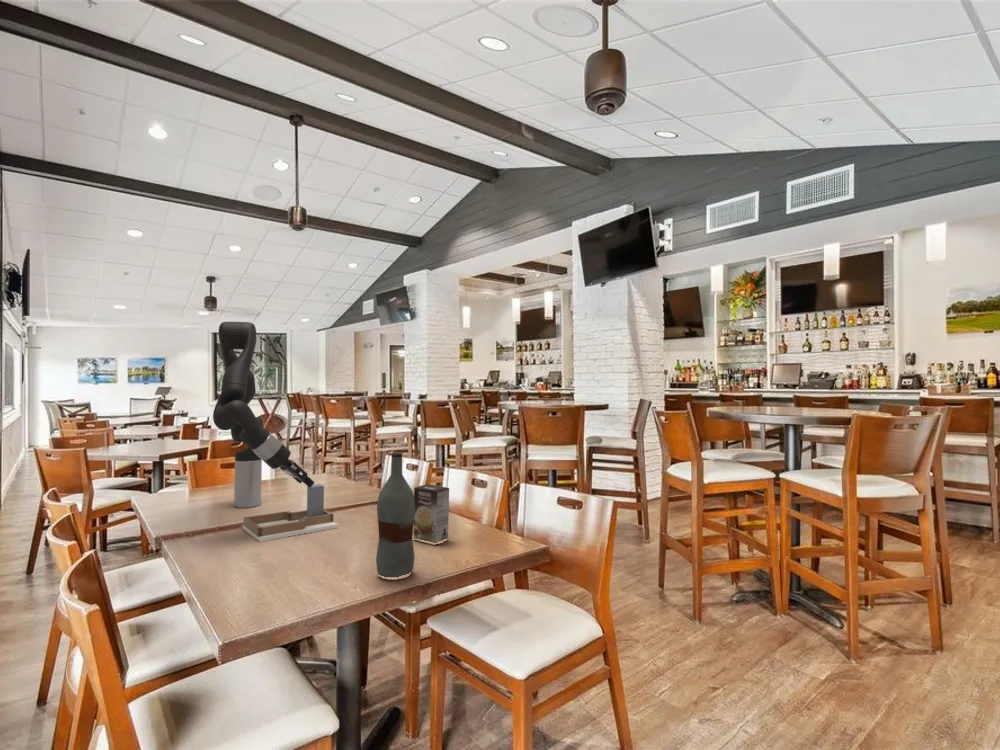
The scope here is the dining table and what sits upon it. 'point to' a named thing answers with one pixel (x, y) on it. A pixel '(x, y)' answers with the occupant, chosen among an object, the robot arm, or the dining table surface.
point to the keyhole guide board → (286, 524)
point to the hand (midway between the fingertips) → (307, 483)
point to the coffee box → (431, 513)
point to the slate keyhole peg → (315, 500)
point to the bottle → (395, 524)
